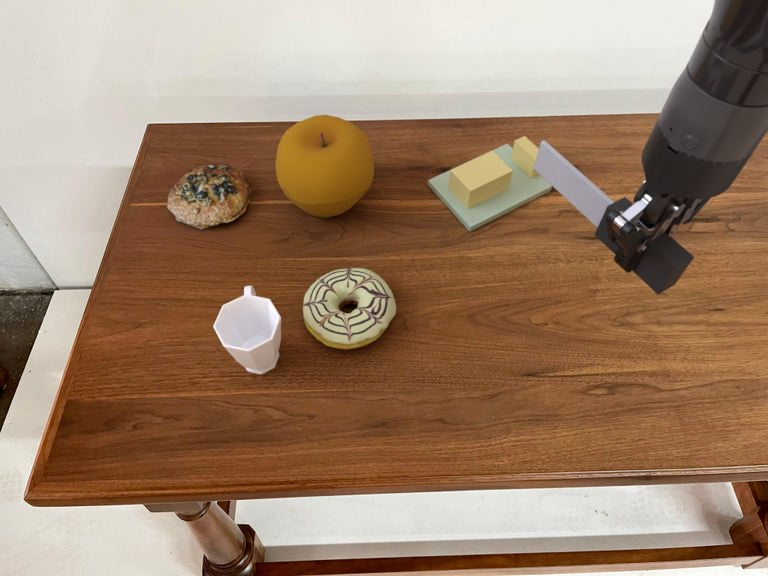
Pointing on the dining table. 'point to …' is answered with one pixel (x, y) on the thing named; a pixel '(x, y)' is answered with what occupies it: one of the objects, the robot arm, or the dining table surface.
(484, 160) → the butter block
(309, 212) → the apple
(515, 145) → the butter slice
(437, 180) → the butter board
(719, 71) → the robot arm
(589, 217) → the knife
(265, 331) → the cup
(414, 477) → the dining table surface
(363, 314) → the decorated donut
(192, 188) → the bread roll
